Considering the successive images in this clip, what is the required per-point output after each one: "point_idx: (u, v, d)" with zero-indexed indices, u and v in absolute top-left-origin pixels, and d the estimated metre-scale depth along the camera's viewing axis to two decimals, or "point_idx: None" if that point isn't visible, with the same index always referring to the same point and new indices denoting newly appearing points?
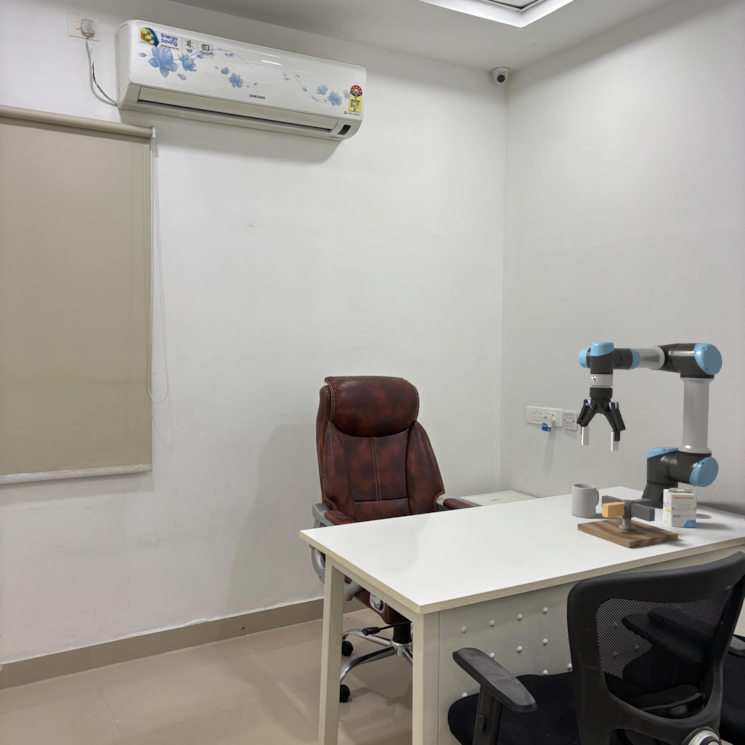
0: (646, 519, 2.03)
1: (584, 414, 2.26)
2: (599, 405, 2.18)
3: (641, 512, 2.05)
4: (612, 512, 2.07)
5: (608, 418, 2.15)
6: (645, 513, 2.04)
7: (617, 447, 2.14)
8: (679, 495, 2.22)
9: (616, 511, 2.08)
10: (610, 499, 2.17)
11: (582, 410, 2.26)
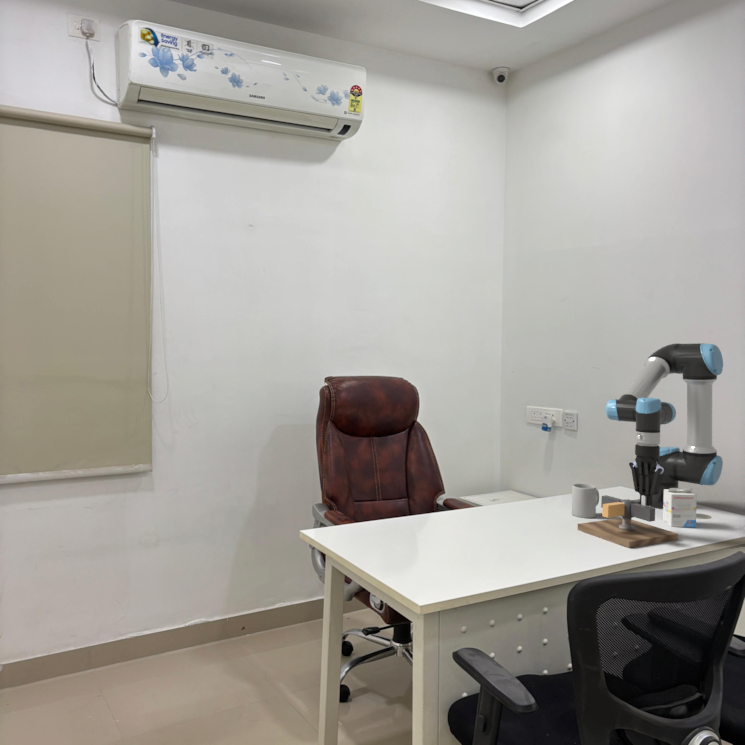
0: (646, 519, 2.03)
1: (637, 478, 2.14)
2: (646, 464, 2.09)
3: (641, 512, 2.05)
4: (612, 512, 2.07)
5: (647, 480, 2.10)
6: (645, 513, 2.04)
7: None
8: (679, 495, 2.22)
9: (616, 511, 2.08)
10: (610, 499, 2.17)
11: (633, 474, 2.15)
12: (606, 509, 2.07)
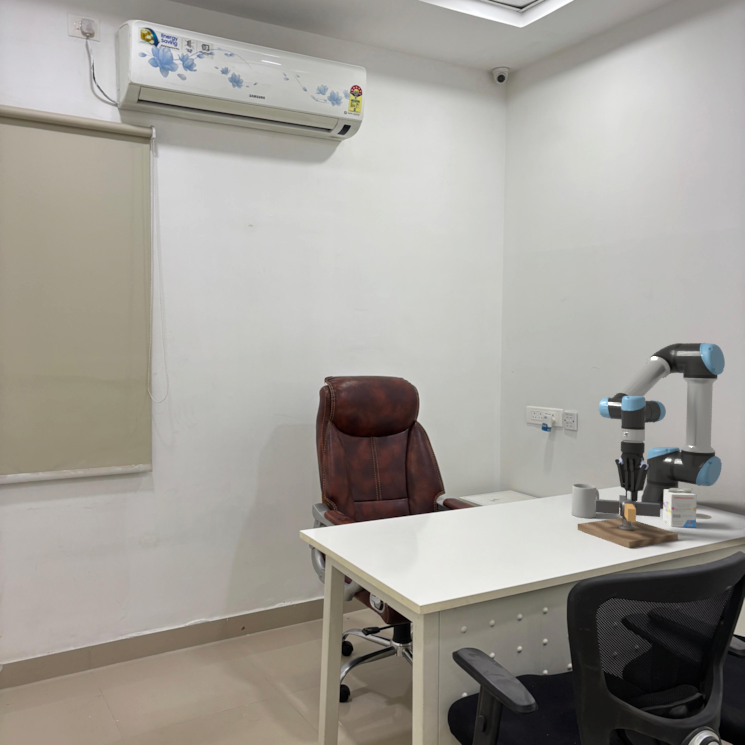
0: (656, 515, 2.09)
1: (623, 474, 2.20)
2: (631, 460, 2.15)
3: (650, 509, 2.09)
4: None
5: (632, 476, 2.15)
6: (655, 509, 2.09)
7: None
8: (679, 495, 2.22)
9: None
10: (608, 502, 2.12)
11: (619, 471, 2.20)
12: (633, 513, 2.02)
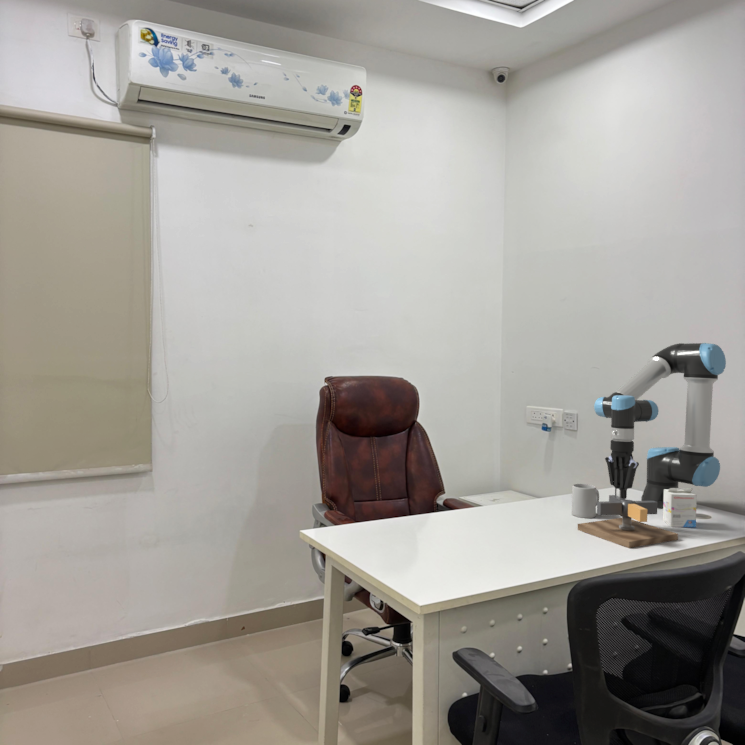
0: (654, 513, 2.12)
1: (613, 472, 2.24)
2: (620, 459, 2.19)
3: (648, 507, 2.11)
4: None
5: (622, 474, 2.19)
6: (652, 507, 2.12)
7: None
8: (679, 495, 2.22)
9: None
10: (611, 504, 2.10)
11: (609, 469, 2.24)
12: (645, 513, 2.02)
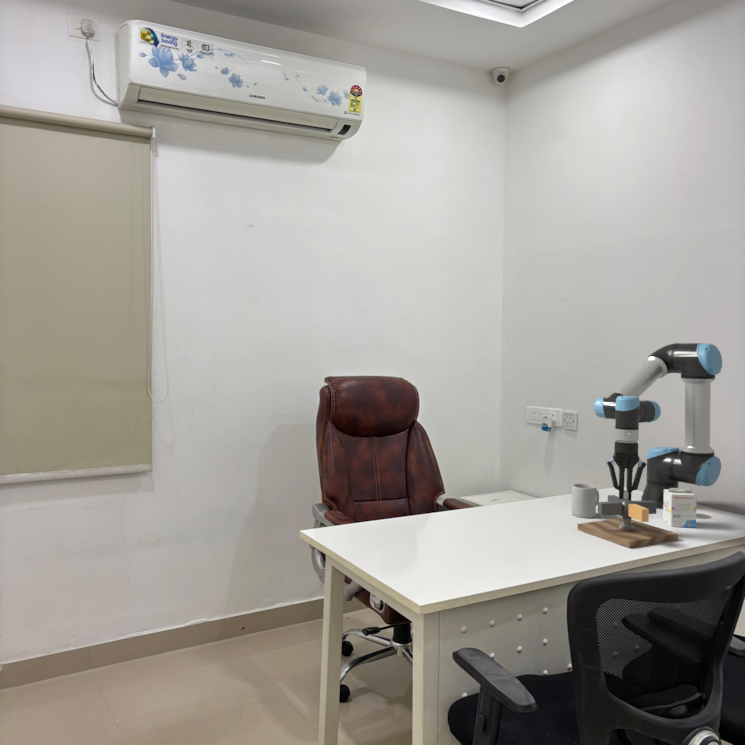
0: (653, 512, 2.12)
1: None
2: (631, 461, 2.14)
3: (648, 507, 2.12)
4: None
5: (630, 476, 2.15)
6: (652, 507, 2.12)
7: None
8: (679, 495, 2.22)
9: None
10: (612, 504, 2.09)
11: (613, 473, 2.16)
12: (646, 513, 2.02)
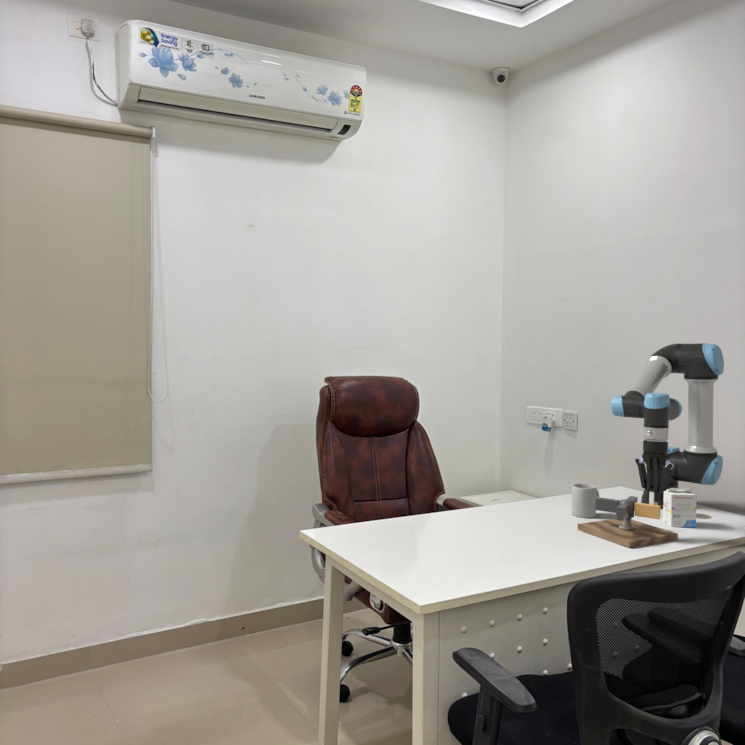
0: None
1: (644, 474, 2.12)
2: (655, 460, 2.07)
3: (635, 503, 2.17)
4: None
5: (656, 476, 2.08)
6: (636, 502, 2.18)
7: None
8: (679, 495, 2.22)
9: None
10: (626, 507, 2.06)
11: (640, 471, 2.12)
12: (659, 510, 2.07)
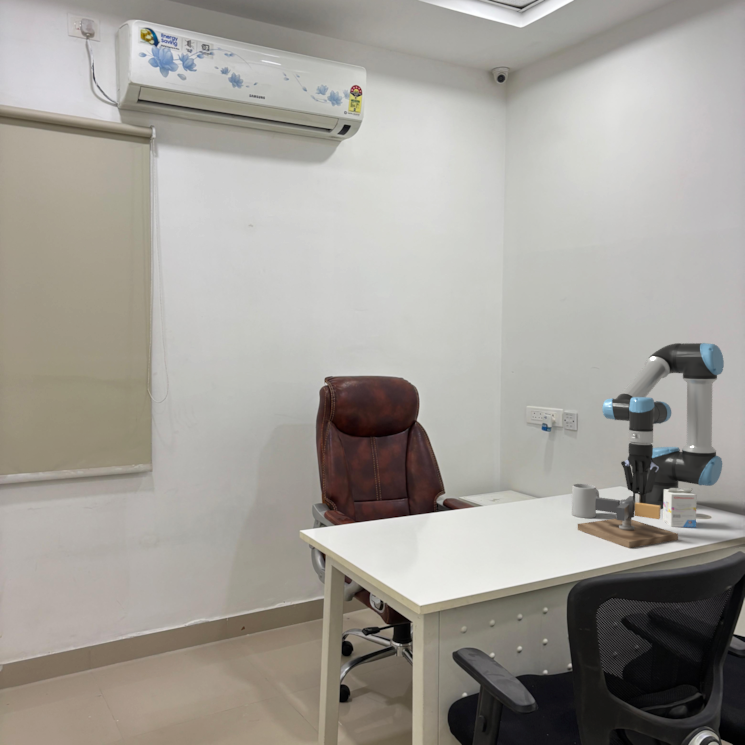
0: None
1: (630, 477, 2.17)
2: (640, 463, 2.12)
3: (635, 503, 2.17)
4: None
5: (641, 479, 2.12)
6: None
7: None
8: (679, 495, 2.22)
9: None
10: (627, 507, 2.06)
11: (626, 473, 2.17)
12: (659, 510, 2.07)
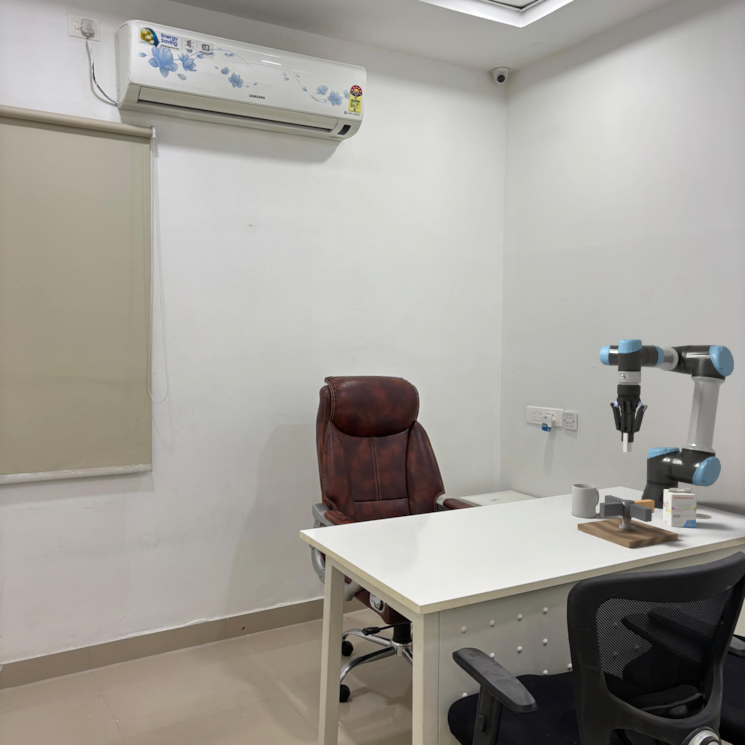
0: None
1: (618, 417, 2.23)
2: (628, 402, 2.18)
3: None
4: None
5: (629, 418, 2.18)
6: None
7: (630, 448, 2.20)
8: (679, 495, 2.22)
9: None
10: None
11: (615, 414, 2.23)
12: None
